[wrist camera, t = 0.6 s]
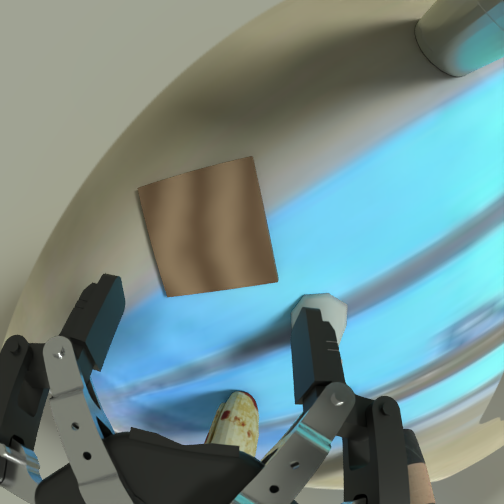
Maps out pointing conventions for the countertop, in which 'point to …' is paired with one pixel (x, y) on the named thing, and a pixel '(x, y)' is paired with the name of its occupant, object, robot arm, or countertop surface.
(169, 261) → the walnut board
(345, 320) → the flask
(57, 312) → the countertop surface
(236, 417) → the food model
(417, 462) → the travel mug
